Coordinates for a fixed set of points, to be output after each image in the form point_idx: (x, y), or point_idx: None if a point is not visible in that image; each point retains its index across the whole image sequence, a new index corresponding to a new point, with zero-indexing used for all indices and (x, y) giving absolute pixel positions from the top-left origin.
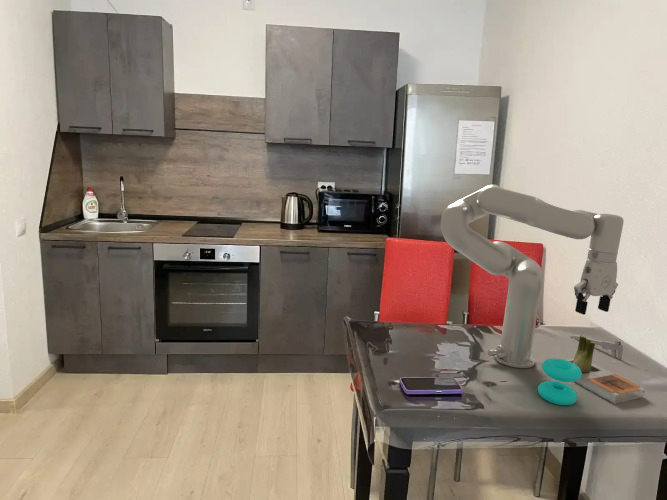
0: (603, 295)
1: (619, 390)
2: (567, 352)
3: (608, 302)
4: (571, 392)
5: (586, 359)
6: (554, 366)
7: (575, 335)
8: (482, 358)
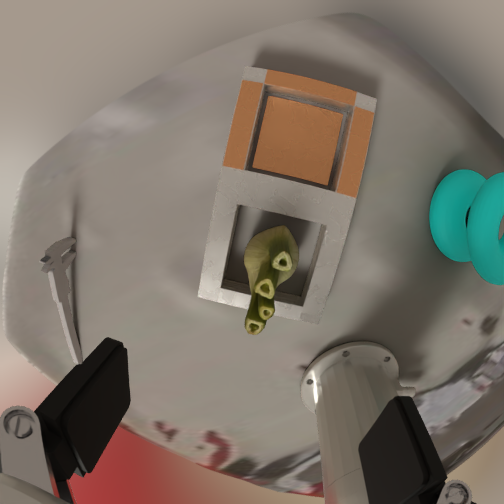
0: (66, 476)
1: (275, 125)
2: (162, 338)
3: (75, 400)
4: (475, 183)
5: (290, 248)
6: None
7: (75, 360)
8: None
